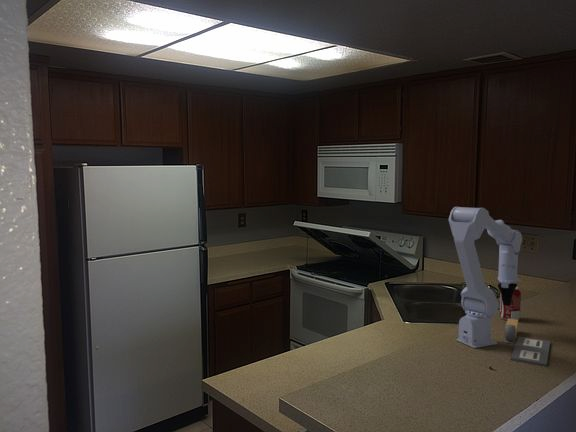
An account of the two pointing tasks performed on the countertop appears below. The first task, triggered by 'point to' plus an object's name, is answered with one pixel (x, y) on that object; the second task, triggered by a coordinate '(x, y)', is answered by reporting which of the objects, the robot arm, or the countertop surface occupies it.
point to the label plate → (530, 350)
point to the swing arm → (511, 329)
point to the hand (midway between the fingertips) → (506, 305)
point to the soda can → (511, 306)
